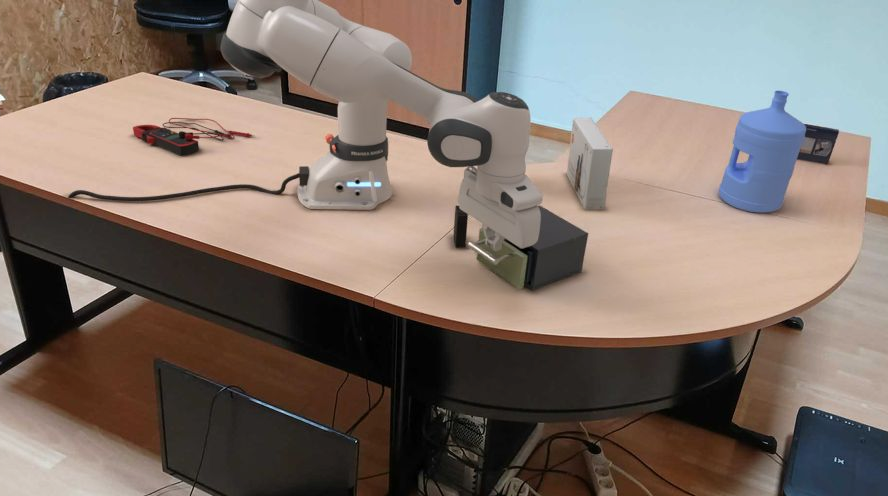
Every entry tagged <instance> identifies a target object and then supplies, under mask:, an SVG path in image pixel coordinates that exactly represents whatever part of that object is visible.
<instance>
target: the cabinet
mask: <svg viewBox="0 0 888 496" xmlns="http://www.w3.org/2000/svg"><path fill="white" fill-rule="evenodd" d="M537 206H538V207H539V209H540V213H541V221H540V231H539V237H538V241H537V242H536V243H535V244H534V245H532V246H529V247H528V248H530V249H531V250H533V251H534V252H535V257H534V265H533V272H532V279H531V282H528V283H525V282H524V286H526V287H527V288H529V289H530V290H531V291H535V290H538V289H540V288H543V287H547V286H548V285H551V284H553V283H557V282H559V281H562V280H564V279H567V278H570V277H572V276H575V275H577V274H579V273H582V272H583V266H584V261H585V254H586V250H587V244H588V238H589V232H587V231H585V230H583V229H582V228H580V227H578V226H577V225H575V224H573V223H571V222H569V221H568V220H566V219H565V218H562V217H561V216H559V215H557V214H555V213H554V212H552V211H550V210H549V209H547V208H545V207H543V206H542V205H541V204H539V205H537Z"/></svg>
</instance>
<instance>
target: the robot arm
mask: <svg viewBox="0 0 888 496" xmlns="http://www.w3.org/2000/svg"><path fill="white" fill-rule="evenodd" d="M220 52H221V56H222V57H223V59H224V61H226V62H227V63H228V64H229V65H230V66H231V67H232V68H233V69H235V71H237V72H238V73H241V74H242V75H245V76H248V77H251V78H252V77H253V78H257V79H264V78H267V77H271V76H272V75H273V74H275V73H276V72H277V73H280V72H281V71H282V69H283V70H284V71H285V72H286V73H288V74H289V75H291V76H292V77H293V78H295V79H297V80H298V81H299V82H301V83H303V84H304V85H306V86H307V87H310V88H311V89H312V90H314V91H315V92H317V93H319V94H321V95H323V96H325V97H327V98H329V99H332V100H334V101H338V105H337V134H336V136H334V134H332V133H327V134H326V135H325V137H324V139H325V142H326V143H327V145H329V151H328V152H327V153H325V154H324V155H322V156H321V157H320V158H318V159H317V160H316V161H315V162H313V163H312V164H311V165H309V166H307V165H306V166H305V165H304V166H299V168H298V169H299V170H298V173H296V174H293V175H290V176H289V177H286V178H285V179H284V180H283V181H282V183H281V185H280V189H277V190H270V189H267V188H263V187H261V186H259V185H254V184H245V183H244V184H230V185H222V186H214V187H207V188H201V189H196V190H190V191H184V192H183V191H182V192H177V193H168V194H162V195H151V196H120V195H119V196H116V195H105V194H100V193H95V192H91V191H88V190H83V189H78V190H77V189H76V190H74V191H72V192H71V193H70V194H68V196H67V199H73V198H75V197H76V196H80V195H83V196H87V197H91V198H94V199H97V200H104V201H115V202H116V201H117V202H154V201H161V200H163V201H164V200H170V199H178V198H184V197H185V198H186V197H191V196H196V195H202V194H208V193H214V192H222V191H229V190H241V189H243V190H246V189H247V190H249V189H250V190H255V191H258V192H261V193H265V194H269V195H274V196H275V195H277V196H278V195H282V194H283V193H284V192H285V191H286V188H287V184H289V183H290V182H291V181H294V180H297V179H299V184H298V186H297V188H296V189H297V192H296V193H297V198H298V201H299V202H300V204H301V205H302V206H304V208H307V209H310V210H353V211H354V210H358V211H360V210H361V211H364V210H365V211H370V210H373V209H375V208H376V207H378V205H380V204H382V203H384V202H387V200H390V198H391V197H392V196H393V190H392V187H391V183H390V182H391V181H390V177H389V170H388V160H389V159H388V158H389V138H388V136H387V122H388V120H387V119H388V109H389V108H388V107H389V102H390V101H391V102H392V103H395V104H396V105H397V106H401V107H402V108H404V109H406V110H407V111H410V112H411V113H414V114H415V115H418V116H419V117H421V118H423V119H424V120H425V121H426V122H427V123H428V125H429V131H428V135H427V142H426V143H427V148H428V151H429V153H430V155H431V156H432V158H433V159H434V160H435V161H436V162H438V163H439V164H440V165H442V166H445V167H448V168H465V169H464V170H463V178H462V180H461V182H460V186H459V190H458V198H457V206H459V208H460V209H461V210H462V211H464V212H465V213H467V214H468V216H470V217H471V218H473V219H474V220H476V221H478V222H479V223H481V224H482V227H481V228H483V231H484V234H485V237H486V241H485V245H487V246H488V247H490V248H491V249H493V250H494V251H498V250H500V249H501V248H502V242H503V241H504V239H507V240H509V241H510V242H512V243H513V244H515V245H516V246H518V247H519V248H526V247H529V246H532V245H534V244H535V243H536V242H537V241H538V237H539V231H540V221H541V213H540V209H539V207H538V206H539V205H541V204H543V200H544V195H543V193H542V192H541V191H540V190H539V189H538V188H537V187H536V186H535V184H534V183H533V182H532V180H531V179H530V177H529V176H528V175H527V174H526V171H527V170H526V169H527V164H526V155H527V153H528V151H529V147H530V137H531V111H530V108H529V105H528V104H527V102H526V101H524V100H523V99H522V98H520V96H519V97H518V96H517V95H515V94H512V93H509V92H504V91H493V92H490V93H488V94H487V95H486V96H485V97H483V98H482V99H479V100H478V98H476V96H474V95H473V94H471V93H468V92H465V91H461V90H454V89H447V88H444V87H440V86H438V85H436V84H434V83H432V82H431V81H429V80H427V79H425V78H423V77H421V76H420V75H418V74H417V73H414V72H412V71H411V69H412V65H413V58H412V57H413V56H412V51H411V49H410V47H409V46H408V44H406V43H405V42H404V41H402V40H401V39H399V38H398V37H397V36H395V35H393V34H392V33H389V32H386V31H383V30H379V29H376V28H372V27H369V26H365V25H363V24H360V23H357V22H354V21H351V20H350V19H347V18H345V17H344V16H343V15H341V14H340V13H339V12H338V10H337V9H335V8H333V7H331V6H330V5H328V4H326V3H324V2H322V1H320V0H237V2H236V4H235V6H234V9H233V11H232V14H231V16H230V18H229V22H228V25H227V28H226V32H224V33H223V35H222V38H221V42H220ZM494 231H495V234H494ZM495 236H497V237H495Z"/></svg>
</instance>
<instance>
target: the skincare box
mask: <svg viewBox="0 0 888 496" xmlns="http://www.w3.org/2000/svg"><path fill="white" fill-rule="evenodd" d="M613 151H614V148H613V146H612V145H611V144H610V142H609V141H608V140H607V137H606V136H605V135H604V133H603V132H602V130H601V129H600V128H599V127H598V125H597V123H596V122H595V121H594V118H592V117H591V116H590V117H573V118H572V125H571V133H570V141H569V150H568V159H567V166H566V167H567V168H566V176H567V178H568V180H569V181H570V184H571V186H572V187H573V190H574V191H575V194H576V195H577V197H578V199H579V202H580V203H581V205H582V207H583V209H584V210H587V211H589V210H590V211H591V210H592V211H593V210H596V211H597V210H598V211H599V210H600V211H601V210H602V211H603V210H605V207H606V198H607V190H608V186H609V179H610V171H611V164H612V158H613Z"/></svg>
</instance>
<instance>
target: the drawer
mask: <svg viewBox="0 0 888 496" xmlns="http://www.w3.org/2000/svg"><path fill="white" fill-rule="evenodd" d="M494 234H495V231H494ZM495 237H497V236H495ZM485 241H486V237H485V234H484V231H483V228H482V227H481V228H479V230H478V241H473V240H470V241H469V242H468V244H467V247H468V248H469V249H470V250H472V251H474V253H476V260H477V262H479V263H481V264H482V265H483V266H485V267H486V268H488V269H489V270H490V271H491V272H493V273H495V274H496V275H498V276H499V277H500V278H502V279H503V280H505V281H506V282H507V283H508V284H510V285H512V286H513V287H515V288H516V289H517V290H522V289H524V286H525V285H524V282H525V283H528V282H531V279H532V272H533V265H534V257H535V252H534V251H533V250H531V249H530V248H528V247H526V248H519V247H518V246H516V245H515V244H513V243H512V242H510V241H509V240H507V239H504V241H503V242H502V248H501V249H500V250H498V251H494V250H493V249H491V248H490V247H488V246H487V245H485Z"/></svg>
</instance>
